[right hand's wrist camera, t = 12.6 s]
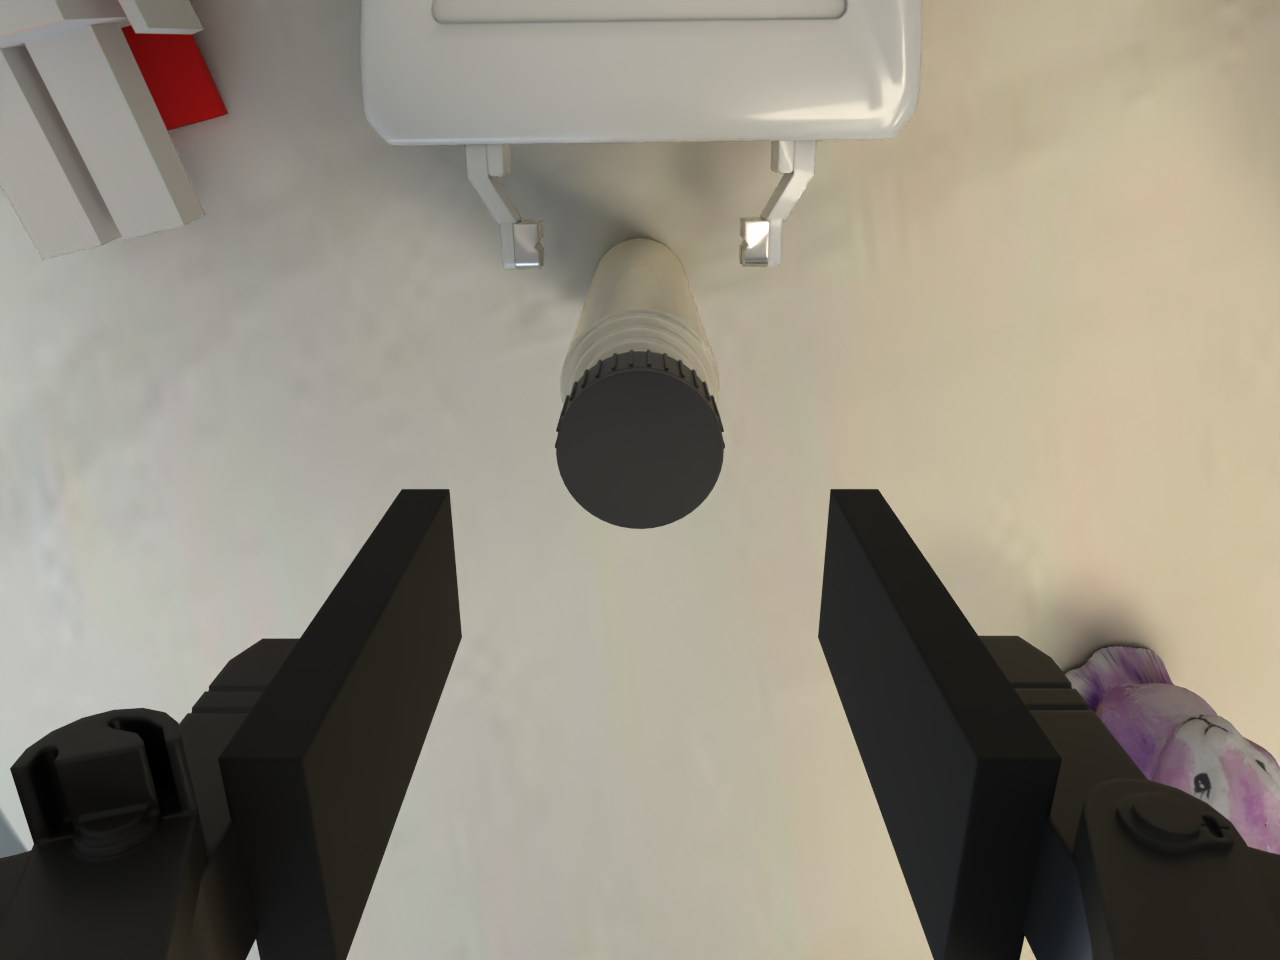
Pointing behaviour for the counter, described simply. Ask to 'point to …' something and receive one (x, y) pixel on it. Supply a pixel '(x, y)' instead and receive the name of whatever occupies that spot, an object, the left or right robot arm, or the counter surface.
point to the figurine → (1183, 740)
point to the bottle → (639, 314)
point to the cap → (639, 440)
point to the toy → (99, 117)
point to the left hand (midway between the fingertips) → (641, 266)
